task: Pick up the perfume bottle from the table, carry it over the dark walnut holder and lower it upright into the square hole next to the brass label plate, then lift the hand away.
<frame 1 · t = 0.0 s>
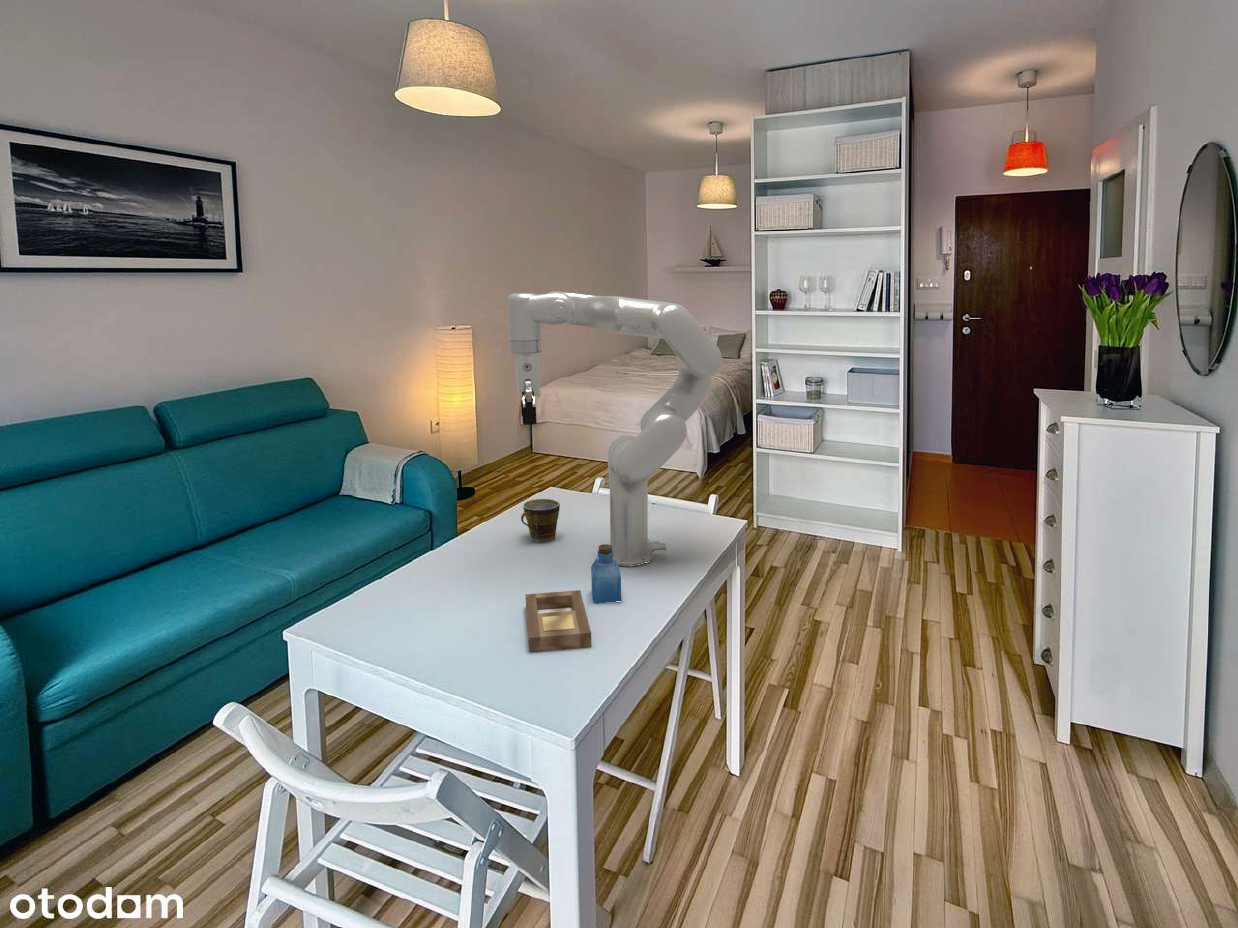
hand: (528, 420, 174), 37 cm above the table, tool pointing down, fingers open, 9 cm apart
perfume bottle: (606, 597, 164), on the table
walnut holder: (556, 625, 151), on the table
ceramic cup: (539, 541, 200), on the table
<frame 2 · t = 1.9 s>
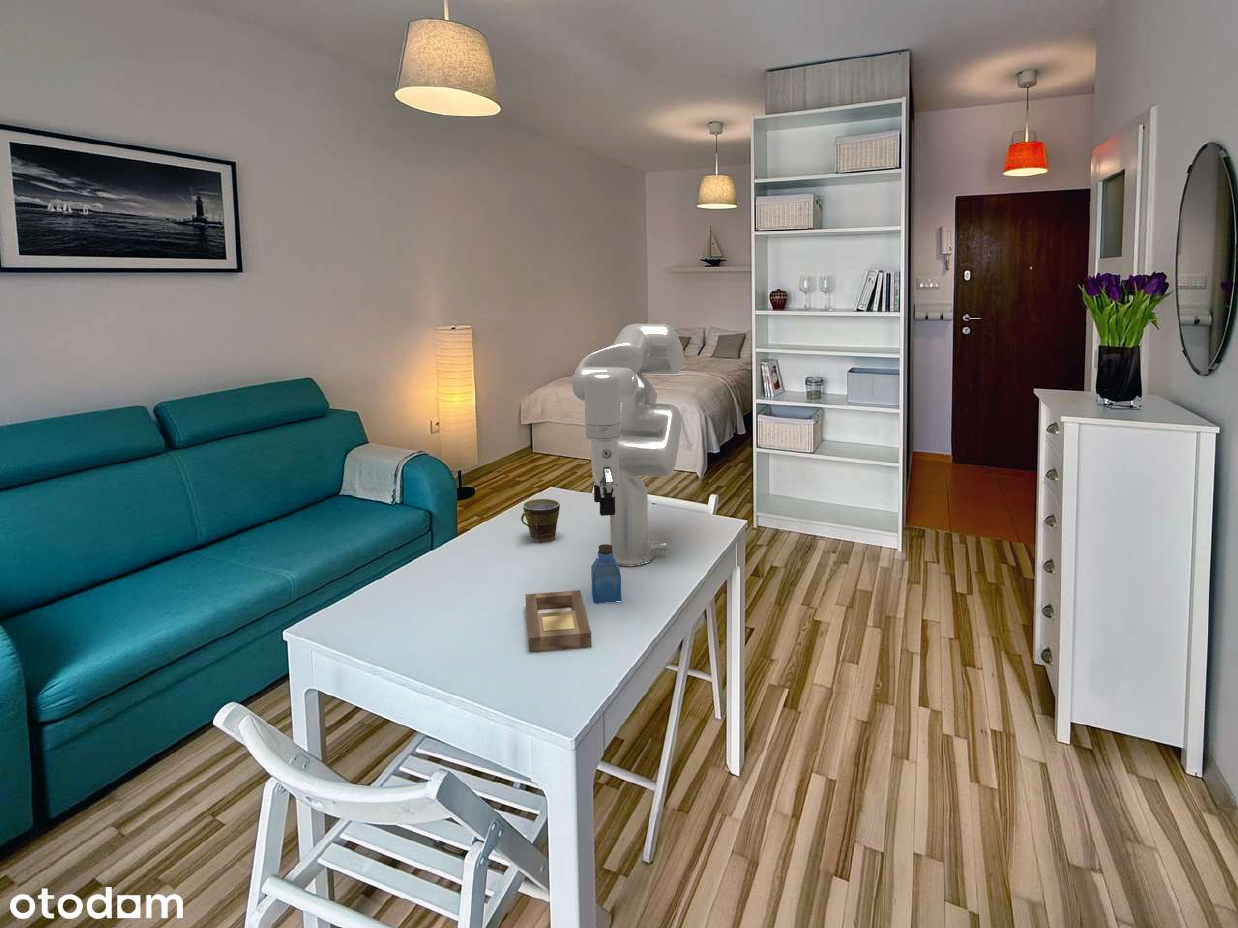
hand: (604, 508, 159), 21 cm above the table, tool pointing down, fingers open, 9 cm apart
nothing on the table moved.
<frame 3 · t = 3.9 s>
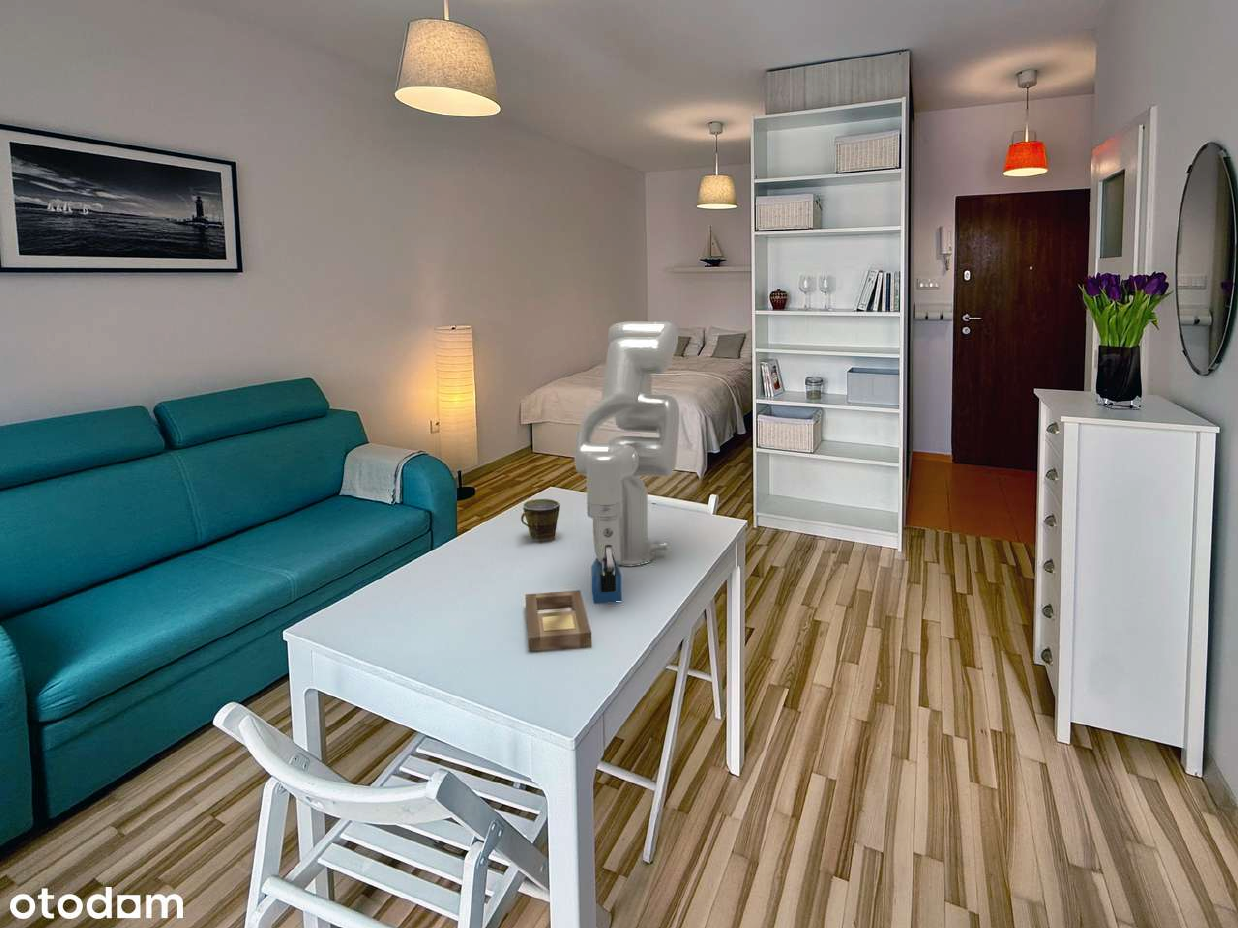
hand: (606, 583, 163), 3 cm above the table, tool pointing down, fingers closed on perfume bottle, 6 cm apart
perfume bottle: (606, 597, 164), on the table, touching gripper
everything else where it was.
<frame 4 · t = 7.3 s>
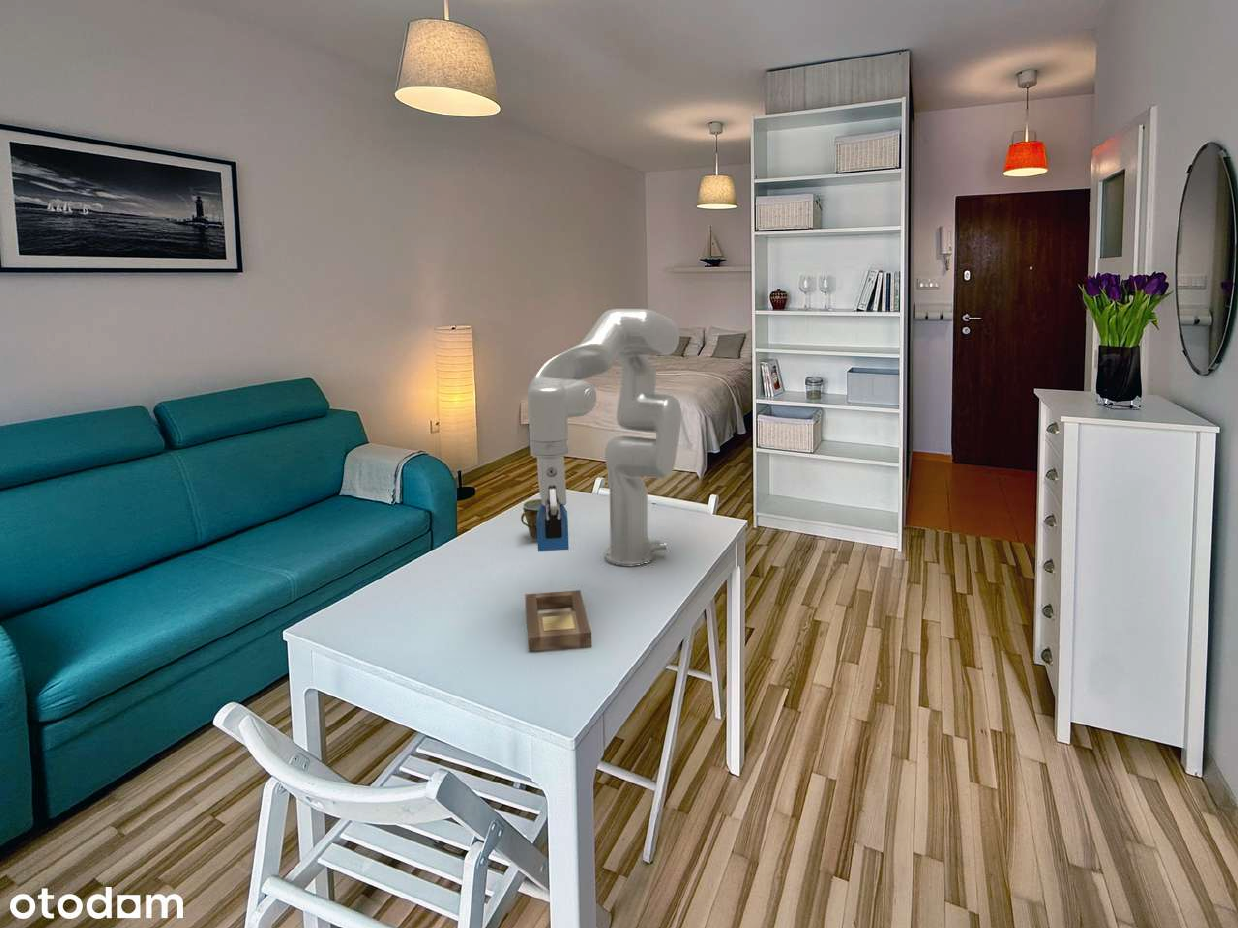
hand: (552, 531, 150), 19 cm above the table, tool pointing down, fingers closed on perfume bottle, 6 cm apart
perfume bottle: (553, 546, 151), point 16 cm above the table, touching gripper
everything else where it was.
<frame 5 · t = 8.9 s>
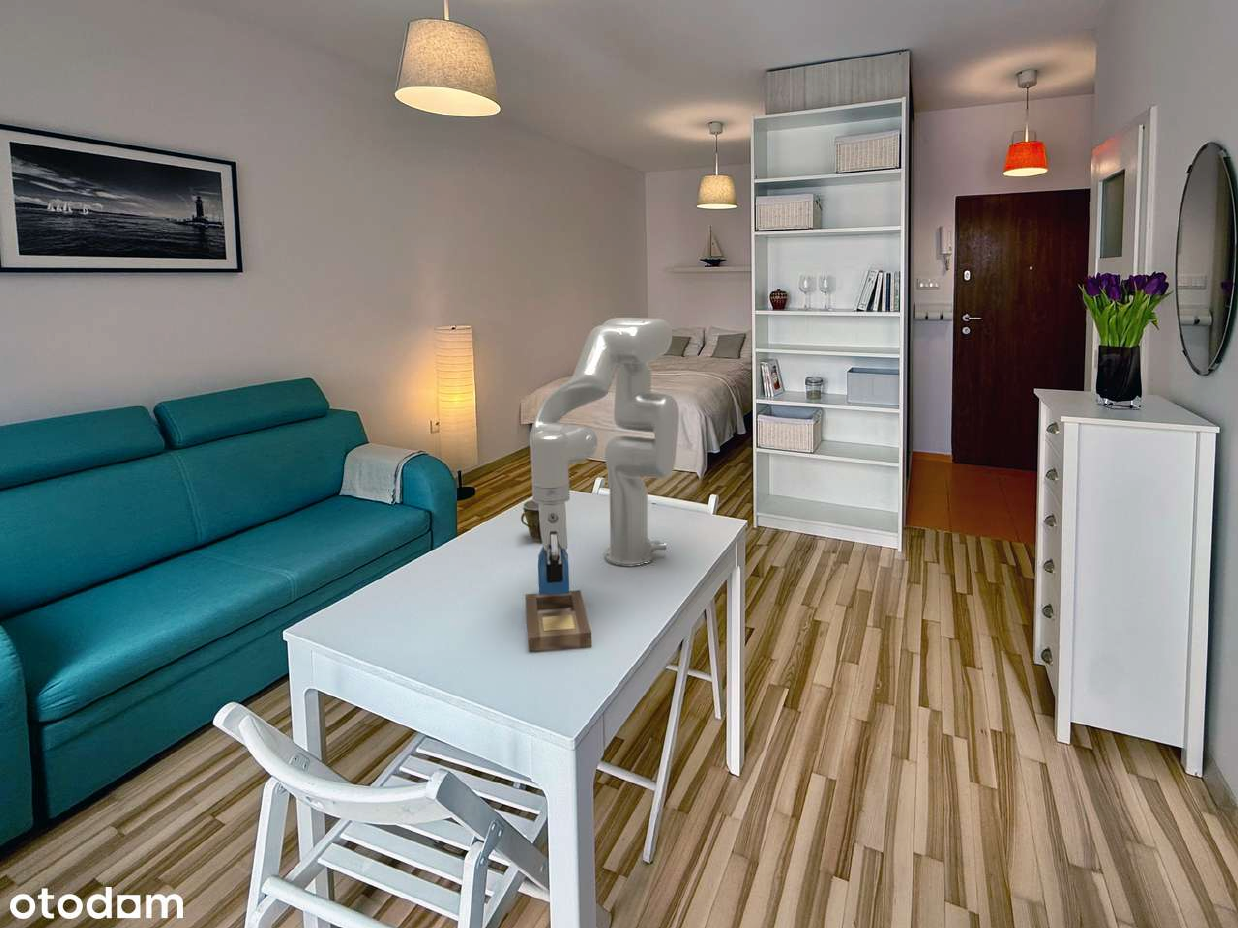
hand: (553, 574, 152), 10 cm above the table, tool pointing down, fingers closed on perfume bottle, 6 cm apart
perfume bottle: (554, 588, 153), point 7 cm above the table, touching gripper
everything else where it was.
when the fingers open (4 cm above the table, at t = 10.5 s): perfume bottle stays where it is, resting on walnut holder.
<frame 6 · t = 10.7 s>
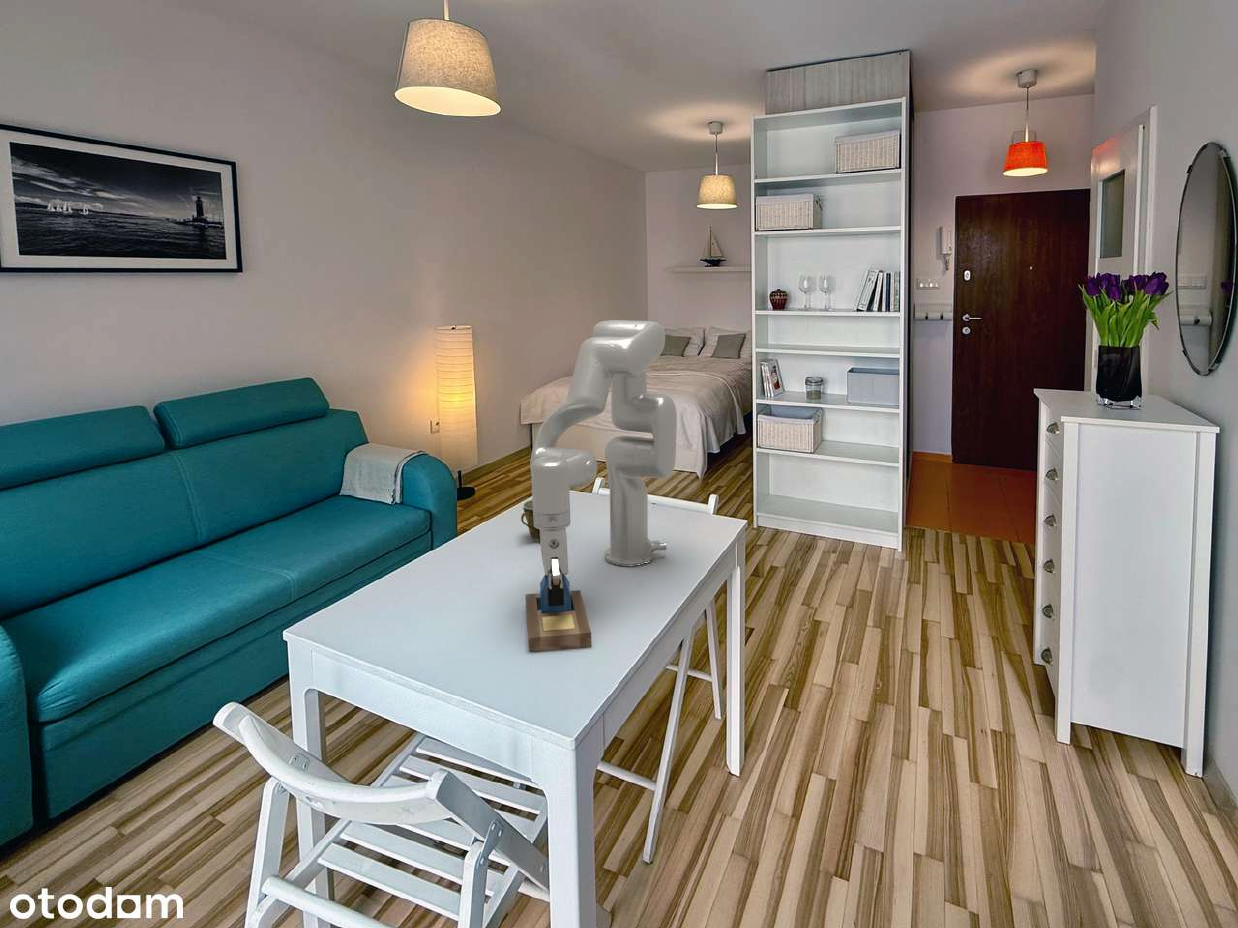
hand: (554, 596, 154), 5 cm above the table, tool pointing down, fingers open, 8 cm apart
perfume bottle: (556, 616, 155), resting on walnut holder
everything else where it was.
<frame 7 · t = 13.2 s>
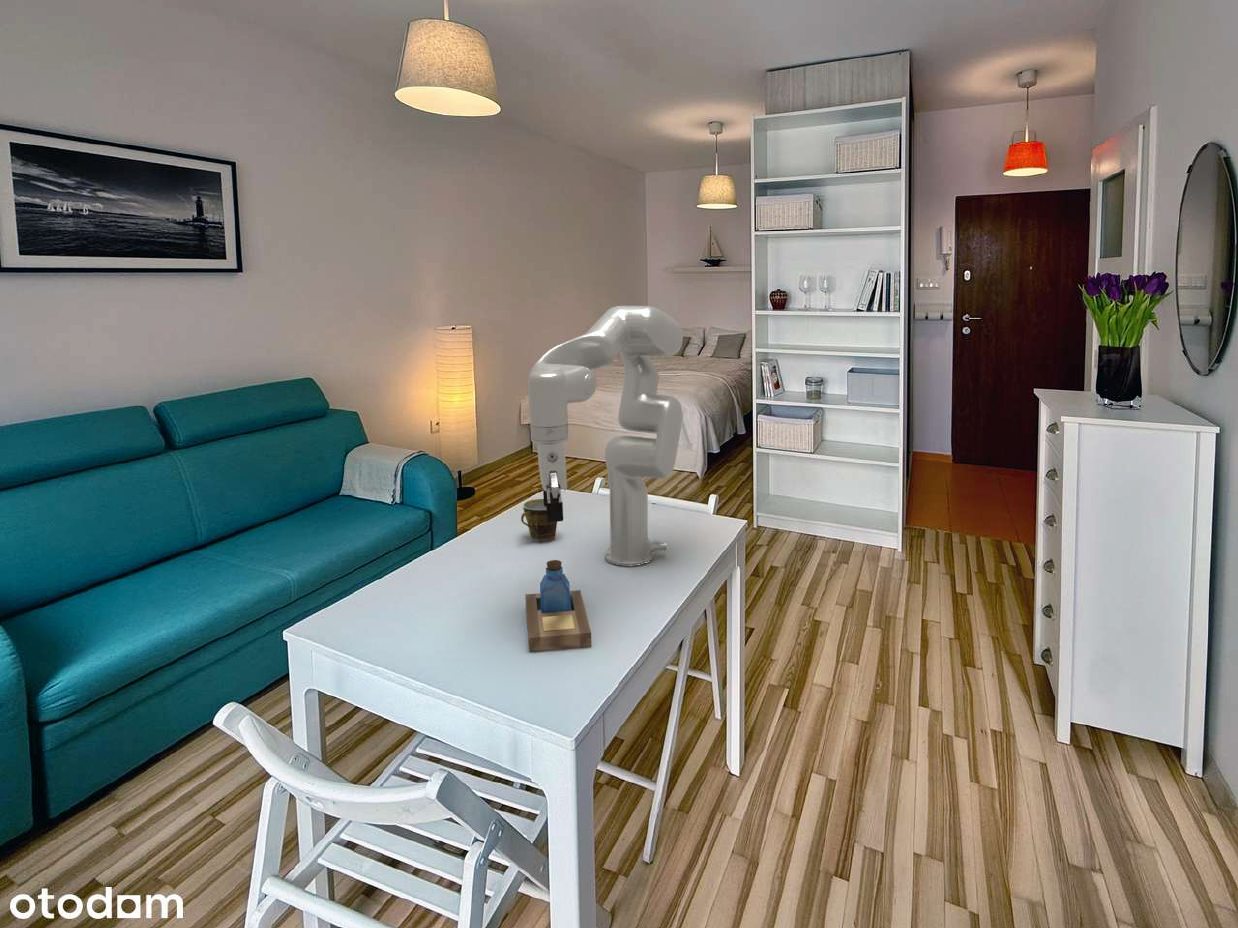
hand: (553, 513, 151), 22 cm above the table, tool pointing down, fingers open, 9 cm apart
nothing on the table moved.
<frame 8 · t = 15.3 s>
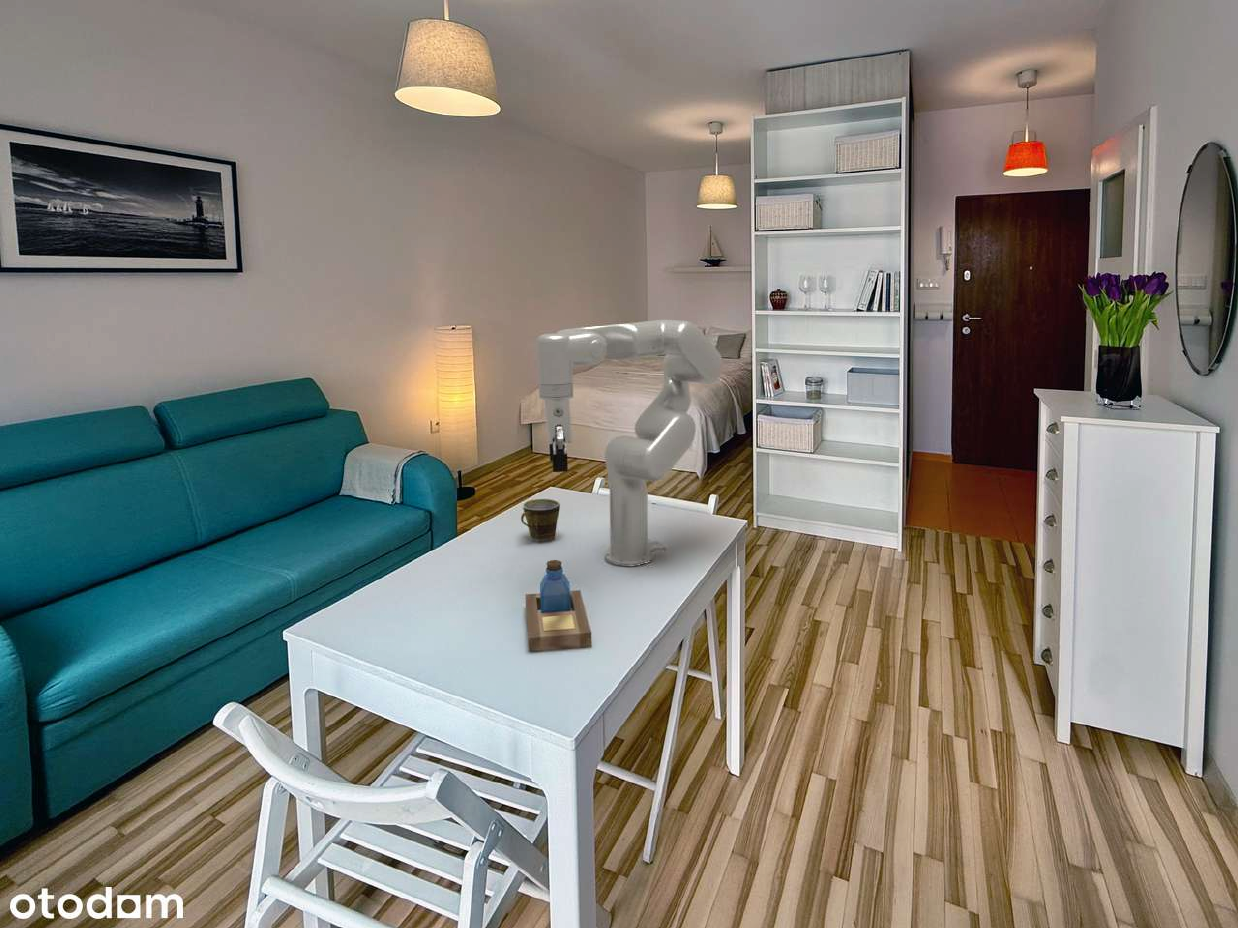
hand: (558, 465, 165), 28 cm above the table, tool pointing down, fingers open, 9 cm apart
nothing on the table moved.
at the end: perfume bottle 0.2 cm from the target spot on the walnut holder, point 0.0 cm above the walnut holder's base; perfume bottle tilted 0°; the gripper is holding nothing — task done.
